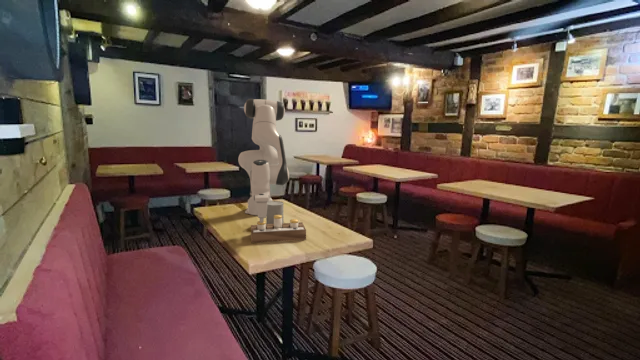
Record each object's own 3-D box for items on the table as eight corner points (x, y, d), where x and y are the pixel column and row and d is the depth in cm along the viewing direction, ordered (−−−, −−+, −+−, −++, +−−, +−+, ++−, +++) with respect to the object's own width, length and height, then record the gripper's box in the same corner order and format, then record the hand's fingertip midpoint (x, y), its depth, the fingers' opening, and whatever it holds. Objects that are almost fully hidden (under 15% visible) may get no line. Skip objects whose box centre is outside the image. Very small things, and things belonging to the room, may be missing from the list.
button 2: (289, 234, 169) (289, 219, 167) (297, 233, 169) (297, 218, 168) (290, 236, 165) (290, 221, 163) (298, 236, 165) (298, 221, 164)
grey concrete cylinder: (280, 228, 179) (280, 205, 177) (263, 226, 181) (263, 204, 179) (285, 222, 188) (285, 201, 186) (269, 221, 190) (269, 200, 188)
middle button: (273, 230, 166) (273, 215, 165) (281, 229, 167) (281, 214, 166) (274, 232, 163) (274, 217, 161) (282, 232, 163) (282, 216, 162)
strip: (253, 230, 159) (253, 229, 159) (303, 227, 164) (303, 226, 164) (253, 232, 157) (253, 231, 156) (303, 229, 161) (304, 228, 161)
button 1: (257, 236, 165) (257, 220, 164) (265, 235, 166) (265, 220, 165) (257, 238, 161) (257, 223, 160) (266, 238, 162) (265, 223, 161)
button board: (251, 234, 169) (251, 224, 168) (302, 231, 174) (302, 222, 173) (251, 243, 157) (251, 232, 156) (306, 239, 162) (306, 229, 161)
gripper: (253, 189, 169) (254, 216, 172) (254, 199, 150) (255, 228, 152) (266, 189, 171) (266, 215, 173) (268, 198, 151) (269, 228, 153)
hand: (261, 221), depth 162 cm, fingers closed, pressing on button 1
